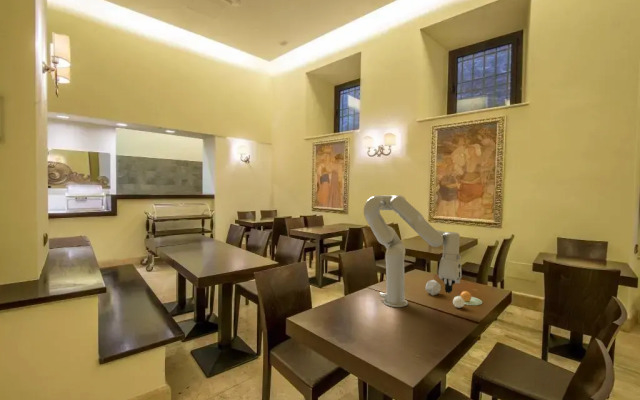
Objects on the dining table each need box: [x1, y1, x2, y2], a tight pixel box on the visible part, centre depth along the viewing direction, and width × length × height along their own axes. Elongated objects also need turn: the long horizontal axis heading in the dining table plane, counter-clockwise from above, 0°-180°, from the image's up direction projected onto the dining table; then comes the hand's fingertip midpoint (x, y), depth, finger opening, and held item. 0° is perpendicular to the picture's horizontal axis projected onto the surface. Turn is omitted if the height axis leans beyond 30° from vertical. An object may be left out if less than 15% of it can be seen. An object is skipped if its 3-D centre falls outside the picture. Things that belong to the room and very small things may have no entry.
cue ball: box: [452, 296, 466, 309], centre depth 156 cm, size 6×6×6 cm
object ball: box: [459, 290, 473, 302], centre depth 164 cm, size 6×6×6 cm
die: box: [424, 279, 442, 296], centre depth 177 cm, size 8×9×10 cm
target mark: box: [453, 295, 483, 306], centre depth 165 cm, size 14×14×1 cm
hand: (448, 292), depth 153 cm, fingers closed
